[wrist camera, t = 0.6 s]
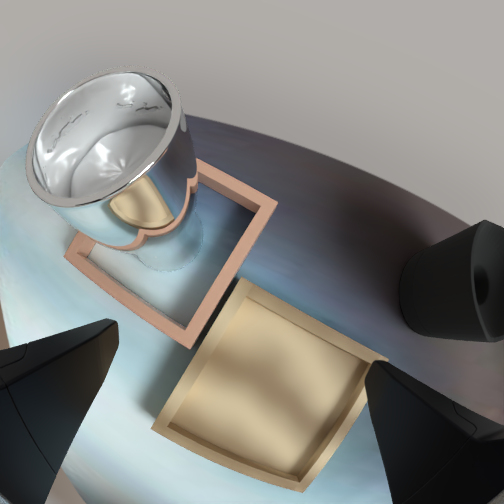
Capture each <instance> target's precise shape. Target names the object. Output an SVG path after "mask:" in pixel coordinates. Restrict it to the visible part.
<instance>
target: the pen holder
mask: <svg viewBox="0 0 504 504" xmlns="http://www.w3.org/2000/svg"><path fill="white" fill-rule="evenodd" d="M399 297H400V305H401V309H402V312H403V315H404V317H405V319H406V321H407V323H408V324H409V326H410V327H411V328H412V329H413V330H414V331H415V332H417V333H419V334H420V335H423V336H427V337H435V338H443V339H453V340H464V341H477V342H498V341H501V340H503V339H504V228H503V227H501V226H498V225H496V224H494V223H491V222H489V221H487V220H483V221H481V222H479V223H477V224H475V225H473V226H471V227H469V228H467V229H465V230H463V231H461V232H459V233H457V234H455V235H453V236H451V237H449V238H447V239H445V240H443V241H441V242H439V243H437V244H435V245H433V246H431V247H429V248H427V249H425V250H422V251H420V252H419V253H417V254H416V255H414V256H413V257H412V258H411V259H410V260H409V261H408V263H407V264H406V266H405V268H404V270H403V273H402V276H401V281H400V288H399Z"/></svg>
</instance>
